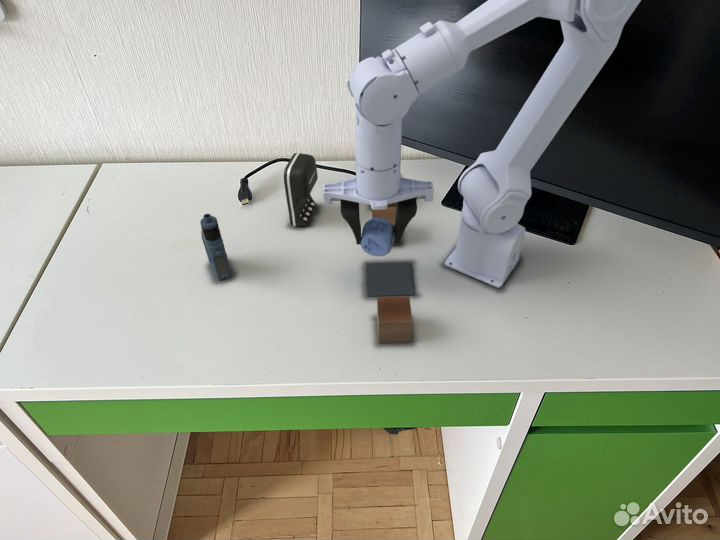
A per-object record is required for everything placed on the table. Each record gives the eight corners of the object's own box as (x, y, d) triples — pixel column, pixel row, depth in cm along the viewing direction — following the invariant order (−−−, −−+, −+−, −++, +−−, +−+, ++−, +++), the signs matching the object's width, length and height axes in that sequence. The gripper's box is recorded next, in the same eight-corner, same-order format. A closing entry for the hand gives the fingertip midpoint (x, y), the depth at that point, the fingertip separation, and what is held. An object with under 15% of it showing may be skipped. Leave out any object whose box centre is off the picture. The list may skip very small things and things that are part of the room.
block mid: (400, 245, 88) (401, 224, 84) (373, 245, 88) (373, 225, 84) (398, 227, 91) (399, 206, 88) (372, 228, 91) (372, 207, 88)
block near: (410, 342, 73) (412, 321, 70) (378, 343, 73) (378, 322, 70) (408, 317, 77) (409, 296, 73) (376, 318, 77) (377, 297, 73)
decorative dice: (388, 259, 76) (388, 238, 73) (361, 254, 76) (360, 233, 74) (394, 241, 78) (395, 219, 76) (368, 236, 79) (367, 215, 76)
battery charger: (310, 230, 91) (304, 174, 83) (289, 227, 91) (281, 171, 83) (322, 205, 95) (317, 150, 87) (302, 202, 96) (295, 147, 88)
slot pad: (414, 295, 80) (414, 294, 80) (367, 296, 80) (367, 295, 80) (410, 263, 85) (410, 262, 84) (366, 264, 85) (366, 263, 84)
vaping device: (218, 283, 82) (200, 223, 74) (208, 262, 85) (190, 203, 77) (234, 277, 83) (218, 218, 74) (224, 257, 86) (208, 198, 78)
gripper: (319, 178, 64) (326, 259, 73) (439, 175, 64) (431, 257, 73) (321, 146, 69) (327, 226, 78) (433, 143, 69) (425, 224, 78)
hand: (377, 239), depth 76 cm, fingers closed on decorative dice, 5 cm apart
